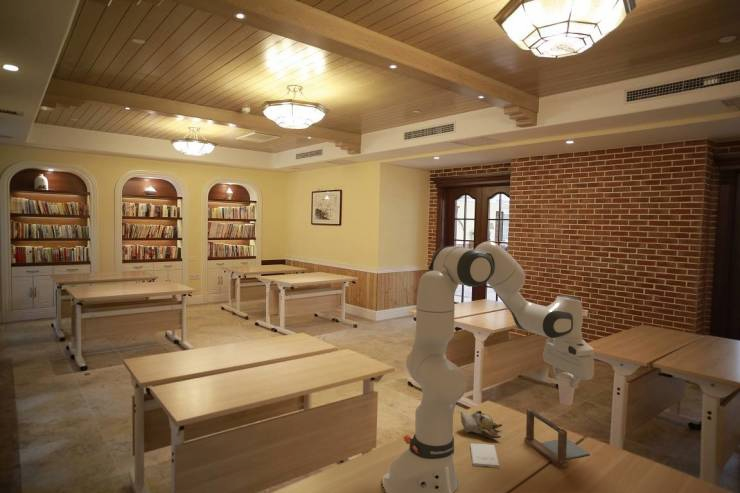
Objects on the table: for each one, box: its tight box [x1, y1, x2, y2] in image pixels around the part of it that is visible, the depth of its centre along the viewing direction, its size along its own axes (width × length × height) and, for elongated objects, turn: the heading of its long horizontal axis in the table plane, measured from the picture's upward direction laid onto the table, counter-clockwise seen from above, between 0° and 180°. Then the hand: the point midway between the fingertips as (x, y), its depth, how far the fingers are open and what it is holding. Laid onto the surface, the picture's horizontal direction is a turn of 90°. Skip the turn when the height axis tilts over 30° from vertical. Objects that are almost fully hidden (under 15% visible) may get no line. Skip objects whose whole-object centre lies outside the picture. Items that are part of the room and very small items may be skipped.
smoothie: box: [557, 371, 576, 407], centre depth 152 cm, size 6×6×14 cm
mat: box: [540, 438, 591, 461], centre depth 153 cm, size 11×11×1 cm
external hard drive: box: [469, 442, 500, 469], centre depth 149 cm, size 2×8×12 cm
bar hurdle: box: [524, 408, 569, 469], centre depth 151 cm, size 3×18×12 cm, turn 17°
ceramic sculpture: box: [460, 410, 503, 439], centre depth 165 cm, size 11×9×15 cm
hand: (566, 383), depth 152 cm, fingers closed on smoothie, 6 cm apart
